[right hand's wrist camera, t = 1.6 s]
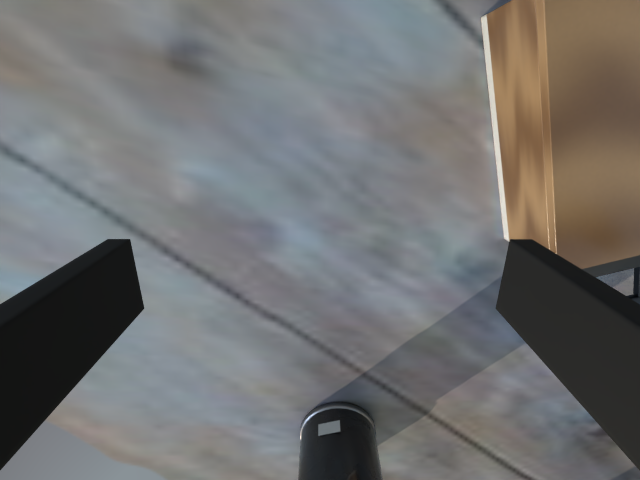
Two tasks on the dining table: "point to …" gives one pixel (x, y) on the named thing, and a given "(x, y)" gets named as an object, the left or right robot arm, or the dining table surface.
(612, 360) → the right robot arm
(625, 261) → the drawer
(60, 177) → the dining table surface
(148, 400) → the dining table surface
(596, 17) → the cabinet
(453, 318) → the dining table surface
